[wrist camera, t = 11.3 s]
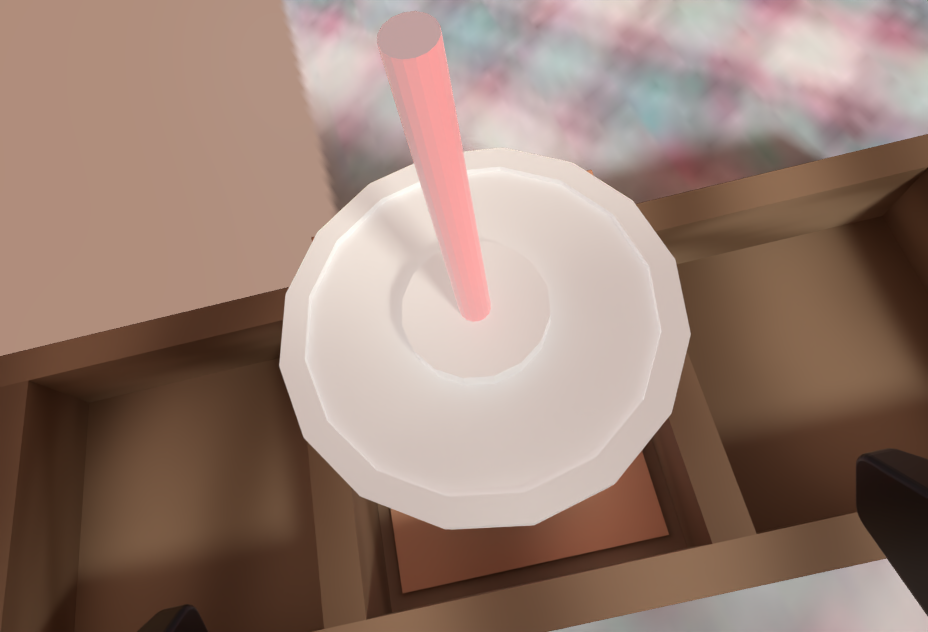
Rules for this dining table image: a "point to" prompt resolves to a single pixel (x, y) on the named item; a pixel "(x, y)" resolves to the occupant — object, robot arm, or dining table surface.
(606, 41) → the dining table surface
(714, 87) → the dining table surface
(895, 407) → the wooden compartment tray
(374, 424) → the beverage cup
